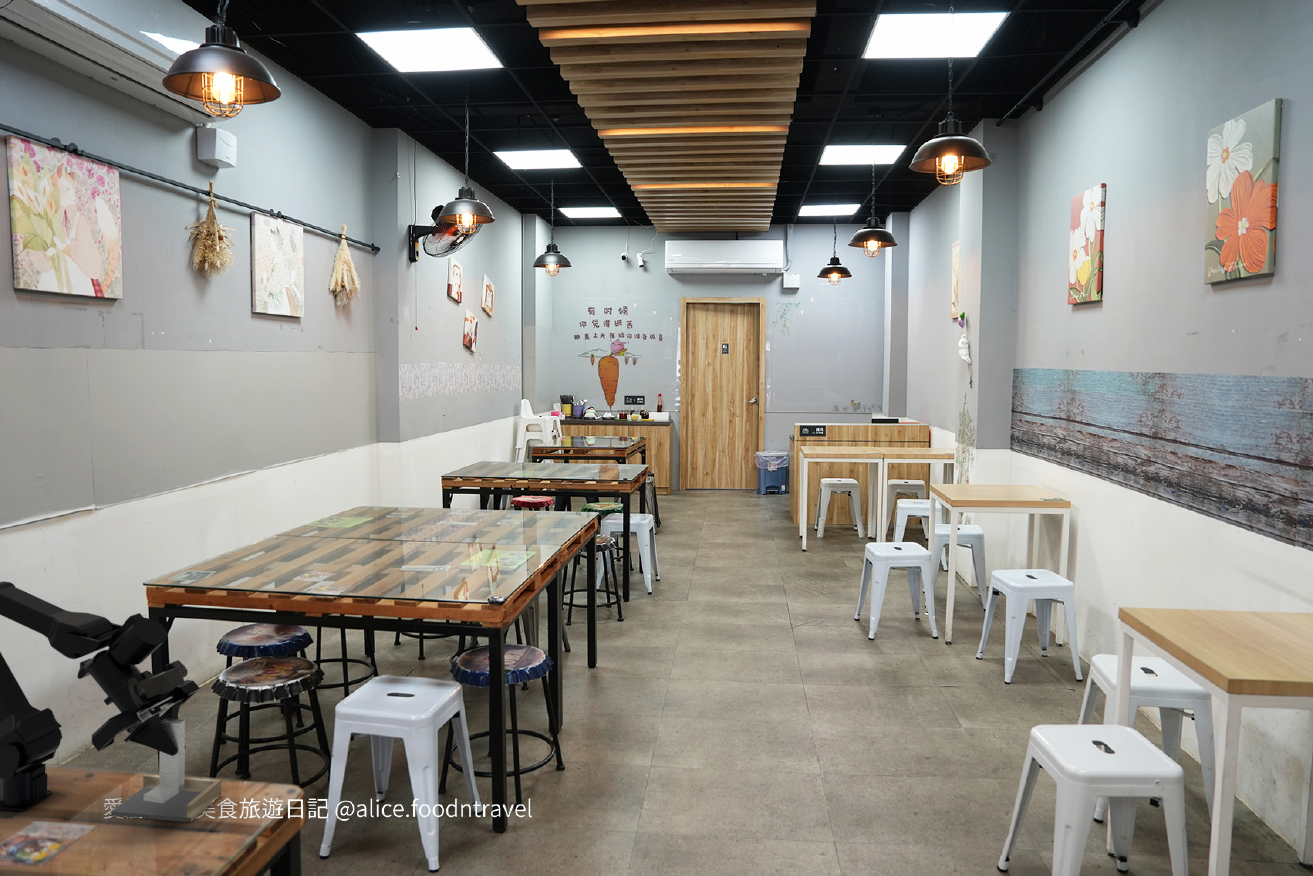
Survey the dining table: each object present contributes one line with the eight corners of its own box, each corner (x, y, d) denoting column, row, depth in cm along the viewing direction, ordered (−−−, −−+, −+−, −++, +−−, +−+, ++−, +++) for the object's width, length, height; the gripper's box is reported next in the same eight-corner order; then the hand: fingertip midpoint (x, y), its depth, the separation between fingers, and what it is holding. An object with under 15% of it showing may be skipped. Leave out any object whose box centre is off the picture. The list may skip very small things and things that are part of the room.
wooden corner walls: (111, 816, 140) (111, 799, 140) (146, 790, 149) (146, 774, 149) (191, 822, 140) (191, 805, 140) (221, 796, 149) (221, 780, 149)
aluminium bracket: (184, 788, 140) (185, 720, 139) (162, 803, 135) (163, 732, 134) (165, 786, 140) (166, 718, 140) (143, 800, 135) (144, 730, 135)
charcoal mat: (111, 816, 140) (111, 811, 140) (146, 790, 149) (146, 785, 149) (191, 822, 140) (191, 817, 140) (221, 796, 149) (221, 791, 149)
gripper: (109, 670, 129) (171, 747, 128) (191, 635, 148) (246, 702, 147) (63, 713, 131) (124, 789, 130) (150, 673, 149) (204, 739, 148)
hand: (179, 751), depth 139 cm, fingers closed on aluminium bracket
